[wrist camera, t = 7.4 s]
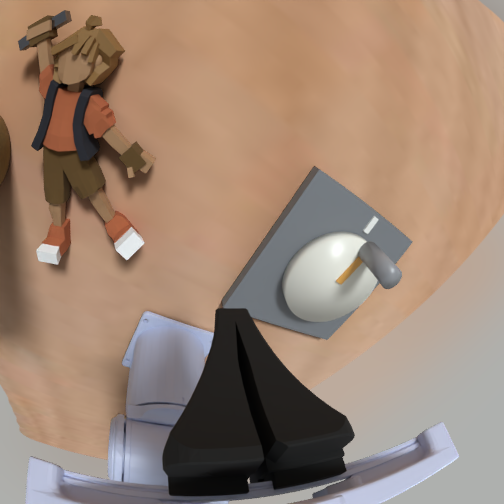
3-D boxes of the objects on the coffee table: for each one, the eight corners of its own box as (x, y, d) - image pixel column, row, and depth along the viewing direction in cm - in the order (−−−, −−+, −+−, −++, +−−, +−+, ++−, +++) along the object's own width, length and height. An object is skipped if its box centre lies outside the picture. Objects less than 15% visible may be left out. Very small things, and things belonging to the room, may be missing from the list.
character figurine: (53, 244, 20) (35, 271, 16) (38, 31, 10) (10, 25, 7) (155, 241, 22) (149, 270, 18) (158, 4, 12) (148, -15, 9)
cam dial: (327, 324, 28) (345, 362, 24) (261, 292, 24) (274, 337, 20) (392, 258, 25) (421, 291, 21) (335, 207, 21) (369, 241, 17)
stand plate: (324, 333, 31) (327, 340, 30) (221, 300, 25) (222, 308, 24) (407, 236, 25) (413, 242, 24) (314, 165, 20) (320, 170, 19)
